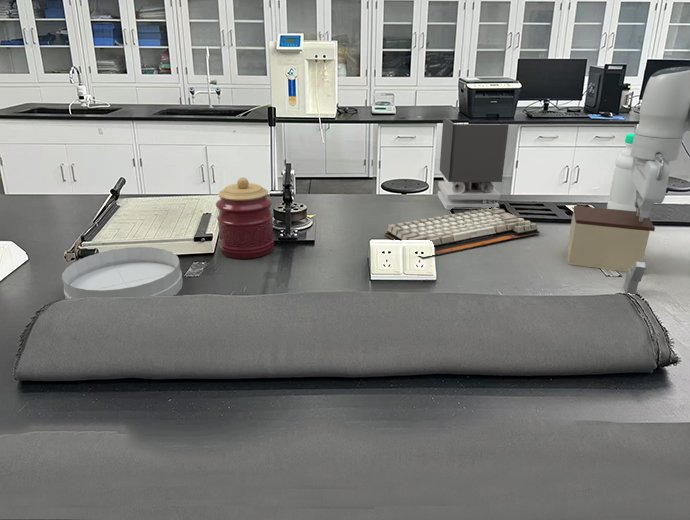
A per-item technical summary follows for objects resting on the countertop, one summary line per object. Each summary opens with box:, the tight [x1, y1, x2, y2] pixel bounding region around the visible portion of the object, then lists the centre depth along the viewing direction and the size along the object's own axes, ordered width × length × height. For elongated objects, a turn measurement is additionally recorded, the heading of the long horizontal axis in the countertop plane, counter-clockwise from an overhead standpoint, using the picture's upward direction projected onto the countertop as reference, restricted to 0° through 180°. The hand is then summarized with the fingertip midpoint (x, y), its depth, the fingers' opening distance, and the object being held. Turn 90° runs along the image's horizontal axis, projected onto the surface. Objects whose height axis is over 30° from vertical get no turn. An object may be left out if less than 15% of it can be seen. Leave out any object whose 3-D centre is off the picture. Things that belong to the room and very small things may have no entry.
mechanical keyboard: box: [384, 207, 541, 256], centre depth 138 cm, size 38×19×3 cm, turn 117°
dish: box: [61, 246, 184, 300], centre depth 107 cm, size 22×22×5 cm
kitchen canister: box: [215, 177, 275, 260], centre depth 125 cm, size 13×13×18 cm
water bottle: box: [606, 132, 637, 212], centre depth 140 cm, size 7×7×25 cm
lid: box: [573, 197, 656, 232], centre depth 118 cm, size 15×12×5 cm
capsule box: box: [566, 209, 651, 273], centre depth 121 cm, size 15×12×10 cm
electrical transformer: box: [437, 116, 509, 211], centre depth 163 cm, size 16×19×25 cm
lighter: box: [622, 261, 647, 295], centre depth 105 cm, size 7×2×8 cm, turn 161°
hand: (640, 212), depth 117 cm, fingers open, 6 cm apart
